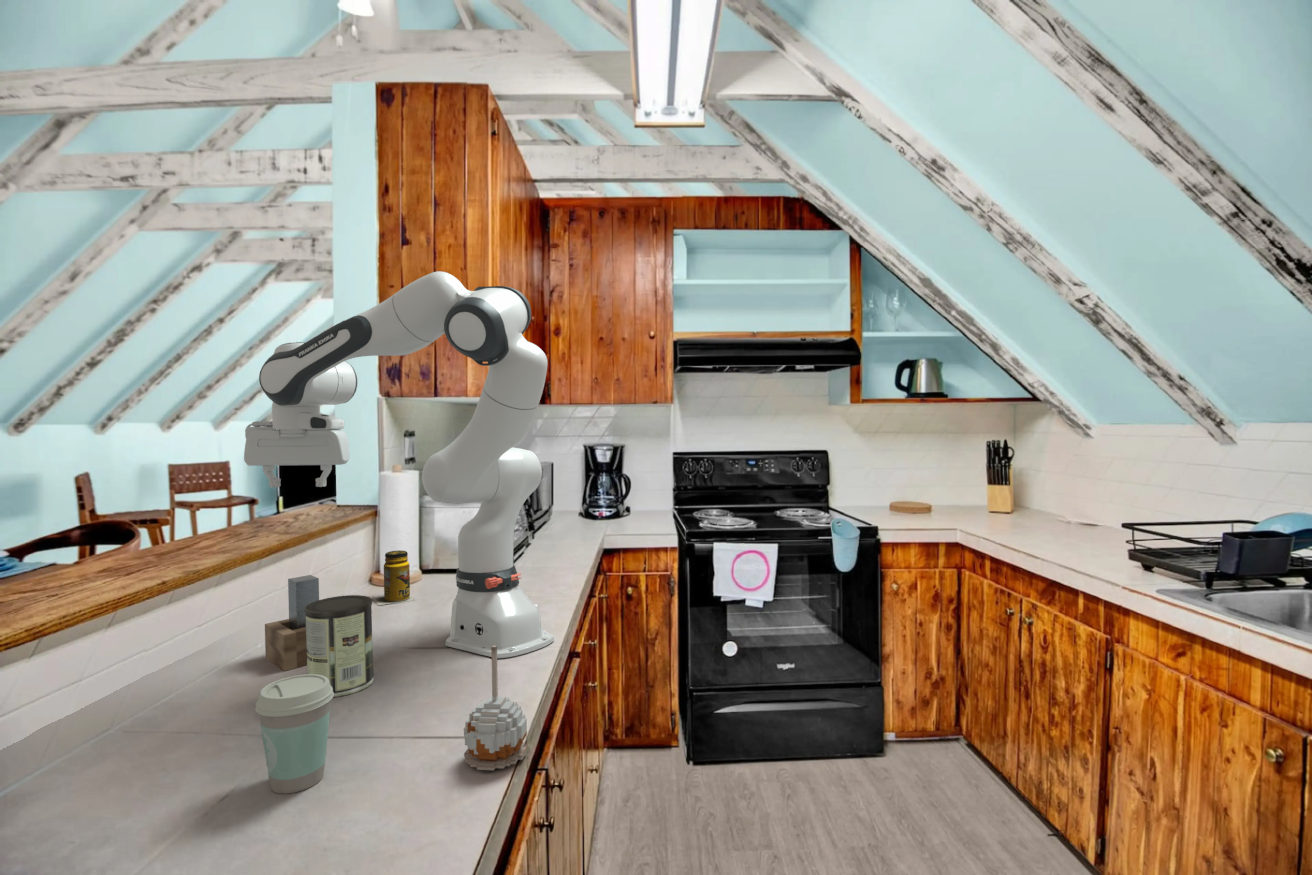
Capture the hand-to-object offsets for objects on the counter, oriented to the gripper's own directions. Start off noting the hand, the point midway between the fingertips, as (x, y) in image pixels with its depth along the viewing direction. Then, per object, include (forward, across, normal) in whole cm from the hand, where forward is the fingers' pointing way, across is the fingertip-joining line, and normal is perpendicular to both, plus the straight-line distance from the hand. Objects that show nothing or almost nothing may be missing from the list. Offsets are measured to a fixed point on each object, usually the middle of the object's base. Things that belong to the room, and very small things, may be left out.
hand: (298, 486), depth 136 cm
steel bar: (+31, +7, -14) cm, 35 cm away
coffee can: (+31, +20, -28) cm, 47 cm away
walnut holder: (+31, +7, -14) cm, 35 cm away
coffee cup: (+31, +27, -58) cm, 71 cm away
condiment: (+31, +11, +25) cm, 41 cm away
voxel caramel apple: (+31, +51, -54) cm, 81 cm away
